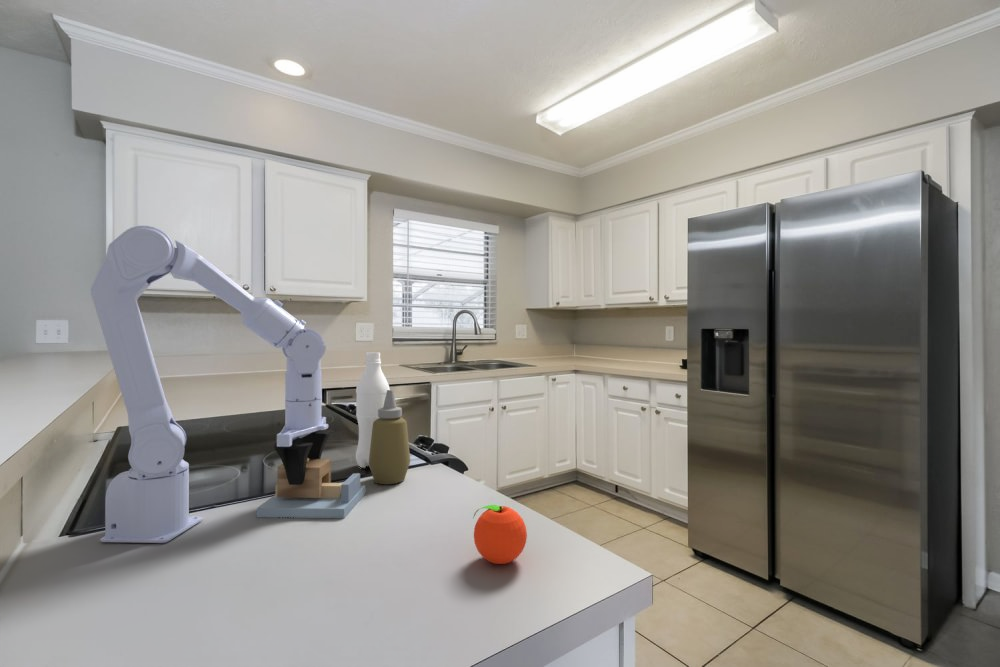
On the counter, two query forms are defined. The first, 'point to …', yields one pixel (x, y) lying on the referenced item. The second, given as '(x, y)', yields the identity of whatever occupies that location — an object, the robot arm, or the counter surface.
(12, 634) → the counter surface
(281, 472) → the cabinet block
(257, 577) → the counter surface
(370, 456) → the squeeze bottle
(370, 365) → the water bottle
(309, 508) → the cleat board
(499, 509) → the clementine
